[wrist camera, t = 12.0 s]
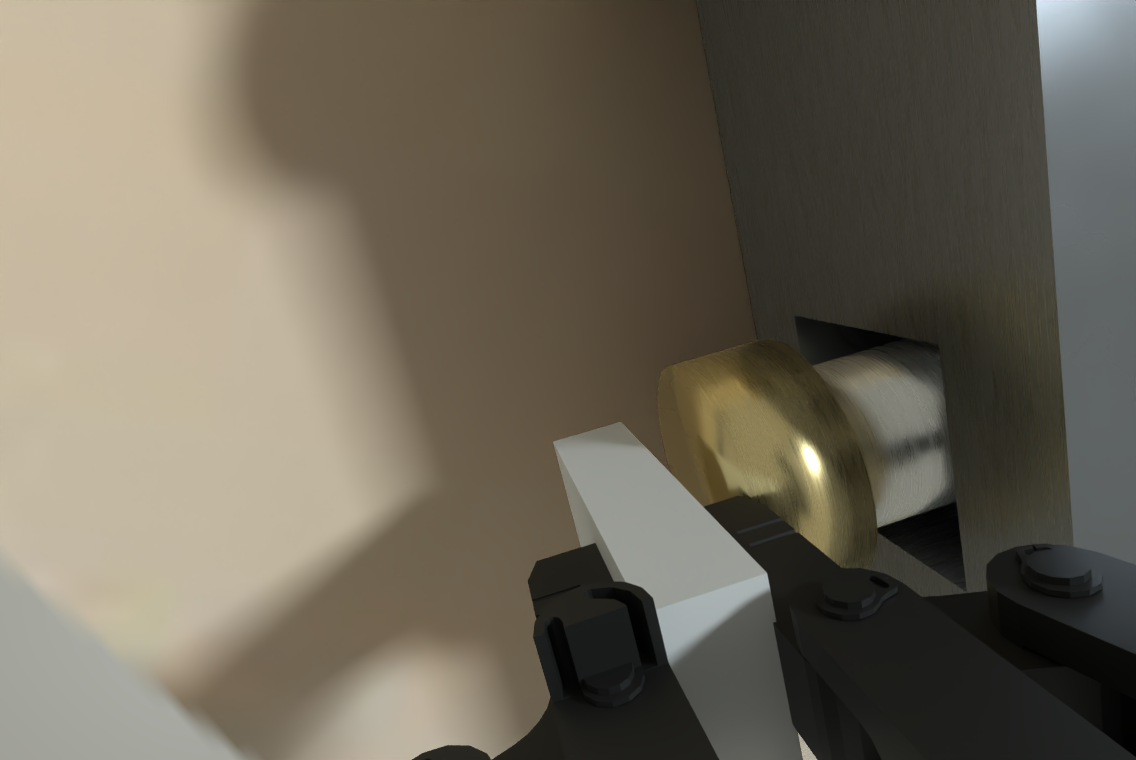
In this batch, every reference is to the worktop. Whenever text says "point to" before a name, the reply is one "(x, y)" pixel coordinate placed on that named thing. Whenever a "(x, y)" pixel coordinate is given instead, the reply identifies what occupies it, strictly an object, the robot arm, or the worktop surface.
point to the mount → (953, 240)
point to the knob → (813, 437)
